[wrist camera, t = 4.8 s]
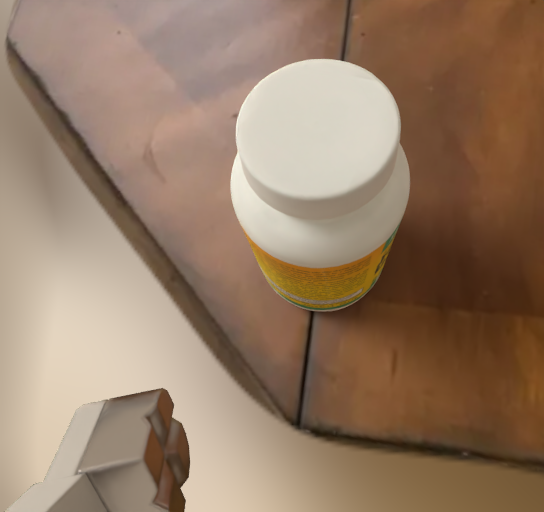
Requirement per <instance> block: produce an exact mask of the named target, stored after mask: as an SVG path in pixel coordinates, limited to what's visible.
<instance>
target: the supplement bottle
mask: <svg viewBox="0 0 544 512" xmlns="http://www.w3.org/2000/svg"><path fill="white" fill-rule="evenodd" d="M400 132H401V121H400V114H399V110H398V107H397V104H396V102H395V100H394V98H393V96H392V94H391V93H390V91H389V90H388V88H387V87H386V86H385V85H384V84H383V83H382V82H381V81H380V80H379V79H378V78H377V77H375V76H374V75H373V74H372V73H371V72H369V71H367V70H365V69H364V68H362V67H359V66H357V65H354V64H351V63H349V62H343V61H339V60H331V59H312V60H305V61H300V62H296V63H293V64H290V65H287V66H285V67H283V68H280V69H279V70H277V71H275V72H273V73H271V74H270V75H268V76H267V77H266V78H264V79H263V80H261V81H260V82H259V83H258V84H257V85H256V86H255V87H254V89H253V90H252V91H251V92H250V93H249V95H248V96H247V98H246V99H245V101H244V103H243V105H242V107H241V110H240V112H239V115H238V118H237V124H236V144H237V149H238V153H237V155H236V158H235V161H234V164H233V168H232V174H231V197H232V202H233V206H234V210H235V213H236V215H237V218H238V220H239V222H240V225H241V227H242V229H243V231H244V233H245V235H246V237H247V239H248V241H249V243H250V246H251V248H252V250H253V252H254V254H255V257H256V259H257V261H258V263H259V266H260V268H261V270H262V272H263V274H264V276H265V278H266V280H267V281H268V283H269V284H270V286H271V287H272V288H273V289H274V290H275V291H276V292H277V293H278V294H279V295H280V296H281V297H282V298H283V299H285V300H286V301H288V302H289V303H291V304H293V305H295V306H297V307H299V308H303V309H306V310H311V311H319V312H325V311H335V310H339V309H343V308H345V307H347V306H349V305H351V304H353V303H355V302H356V301H358V300H359V299H361V298H362V297H363V296H364V295H365V294H366V293H367V292H368V291H369V290H370V289H371V288H372V287H373V286H374V284H375V283H376V281H377V280H378V278H379V276H380V274H381V272H382V269H383V267H384V264H385V261H386V258H387V256H388V254H389V251H390V248H391V245H392V243H393V240H394V238H395V235H396V233H397V230H398V228H399V225H400V223H401V220H402V217H403V215H404V212H405V209H406V206H407V202H408V197H409V191H410V174H409V166H408V162H407V159H406V156H405V153H404V151H403V149H402V146H401V145H400V143H399V141H400Z"/></svg>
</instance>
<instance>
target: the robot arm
mask: <svg viewBox="0 0 544 512" xmlns="http://www.w3.org/2000/svg"><path fill="white" fill-rule="evenodd" d="M173 408H174V404H173V402H172V399H171V397H170V395H169V393H168V391H167V390H165V389H163V388H161V389H156V390H151V391H146V392H141V393H136V394H131V395H126V396H121V397H116V398H111V399H109V400H102V401H98V402H93V403H88V404H84V405H82V406H81V407H79V408H78V409H77V410H76V412H75V414H74V416H73V418H72V420H71V422H70V425H69V427H68V429H67V431H66V433H65V435H64V438H63V440H62V442H61V444H60V446H59V448H58V451H57V453H56V455H55V457H54V459H53V461H52V464H51V466H50V468H49V470H48V472H47V474H46V476H45V479H44V481H43V482H41V483H36V484H33V485H32V486H31V487H30V488H29V489H28V490H27V491H26V492H25V493H24V494H23V495H22V496H20V497H19V498H18V499H17V500H16V501H15V502H14V503H13V504H12V505H11V506H10V507H9V508H8V509H6V510H5V511H4V512H184V509H185V502H186V500H185V498H184V496H183V493H182V491H181V489H180V488H181V486H182V485H183V484H184V483H185V481H186V480H187V478H188V477H189V468H190V456H189V445H188V441H187V437H186V433H185V430H184V428H183V426H182V423H180V422H179V421H177V420H175V419H174V418H172V413H173Z"/></svg>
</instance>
